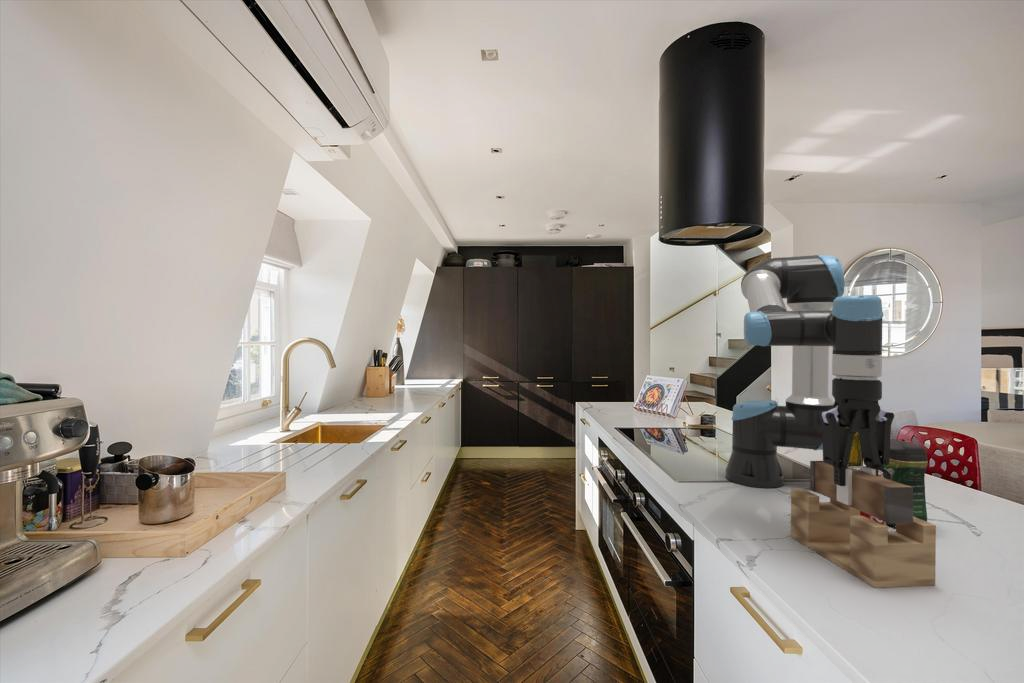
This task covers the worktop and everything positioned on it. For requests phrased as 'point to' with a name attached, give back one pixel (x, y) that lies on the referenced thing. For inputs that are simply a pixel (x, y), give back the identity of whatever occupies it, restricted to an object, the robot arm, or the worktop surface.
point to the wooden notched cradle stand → (865, 542)
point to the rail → (867, 493)
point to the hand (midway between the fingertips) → (855, 502)
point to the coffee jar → (908, 472)
